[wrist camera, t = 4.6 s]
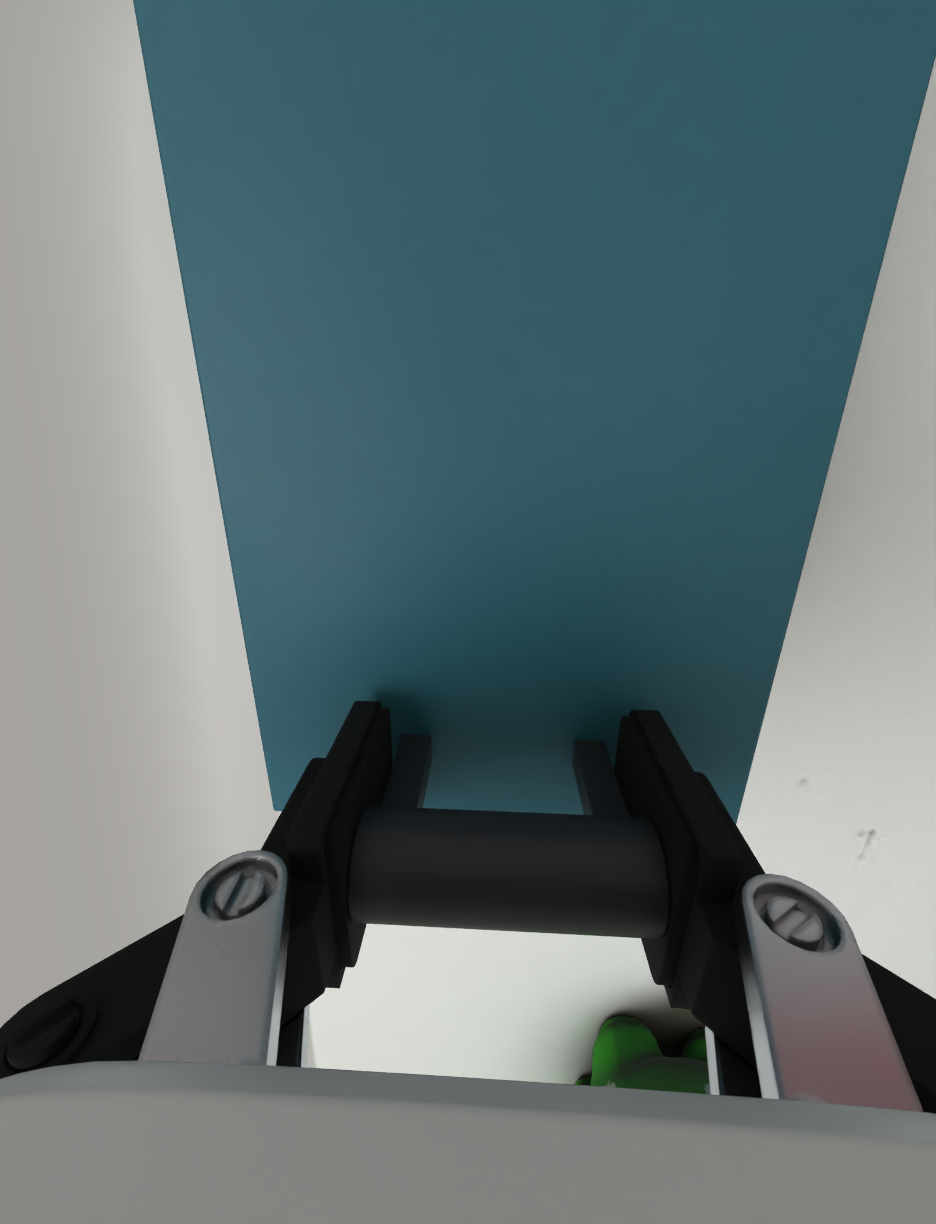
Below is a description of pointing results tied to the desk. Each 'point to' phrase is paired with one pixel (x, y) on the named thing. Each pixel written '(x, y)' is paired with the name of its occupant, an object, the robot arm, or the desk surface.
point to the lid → (525, 392)
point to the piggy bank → (646, 1060)
